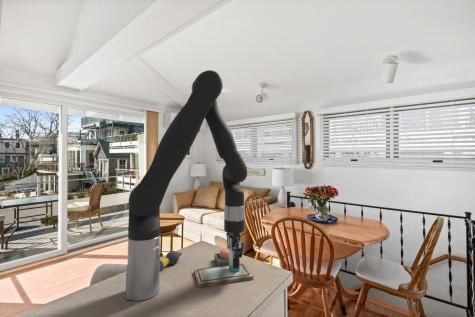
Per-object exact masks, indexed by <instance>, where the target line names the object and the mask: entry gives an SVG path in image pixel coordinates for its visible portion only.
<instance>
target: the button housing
mask: <svg viewBox="0 0 475 317" xmlns="http://www.w3.org/2000/svg"><path fill="white" fill-rule="evenodd" d="M213 259H214V262H215V263H216V265H217V266H216V267H219V266H227V265H229V260H222V259H220V252H217V253H214V258H213Z"/></svg>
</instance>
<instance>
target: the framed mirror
mask: <svg viewBox="0 0 475 317" xmlns="http://www.w3.org/2000/svg"><path fill="white" fill-rule="evenodd" d="M193 273H194V277H195V281H196V283H197V284H196V285H197V288H199V289H200V288H207V287H213V286H219V285H224V284H233V283H238V282H246V281H252V280H254V279H255V278H254V277H255V276H254V275H253V274H252V273H251V272H250V270H249V269H248V267H247V266H246V265H245V264H244V263H240V270H239V271H237V272H232V271H230V270H229V265H227V266H219V267H218V266H214V267H213V266H211V267H204V268H197V269H194V270H193Z"/></svg>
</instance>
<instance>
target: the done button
mask: <svg viewBox="0 0 475 317" xmlns="http://www.w3.org/2000/svg"><path fill="white" fill-rule="evenodd" d="M228 250H229V249H228V248H222V249H220V250H219V253H220V259H222V260H229V251H228Z"/></svg>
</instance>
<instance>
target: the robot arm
mask: <svg viewBox="0 0 475 317" xmlns="http://www.w3.org/2000/svg"><path fill="white" fill-rule="evenodd" d="M223 86H224V85H223V79H222V76H221V75H220V74H219V73H218V71H215V70H210V69H209V70H205V71H202V72H201V73H199V74H198V76H196V78H195V79H194V81H193V82H192V85H191V93H190V96H189V97H188V99H187V101H186V103H185V104H184V106H182V108H181V109H180V110H179V111H178V113H177V114H176V116H175V117H174V118H173V120H172V121H171V123H170V124H169V126H168V127H167V129H166V131H165V133H164V134H163V136H162V138H161V140H160V141H159V144H158V146H157V148H156V151H155V153H154V155H153V159H152V162H151V164H150V166H149V168H148V170H147V172H145V174H144V176H143V177H142V179H141V180H140V181H139V183H138V185H136V186H135V187H134V188H132V190H131V191H130V193H129V197H128V224H127V225H128V226H127V264H126V268H125V271H126V273H125V301H135V302H140V301H146V300H149V299H152V298H154V297H156V296H157V295H158V293H159V292H160V276H161V275H160V273H161V271H160V260H161V218H160V214H161V212H160V211H161V205H162V203H163V200H164V197H165V195H166V192H167V190H168V188H169V185H170V183H171V182H172V179H173V177H174V175H175V174H176V173H177V171H178V170H179V168H180V166H181V165H182V163H183V162H184V160H185V158H186V156H187V155H188V153H189V151H190V150H191V147H192V146H193V143H194V142H195V140H196V138H197V136H198V133H199V131H200V130H201V128H202V125H203V122H204V120H205V121H206V123H207V126H208V128H209V131H210V134H211V136H212V140H213V143H214V145H215V148H216V151H217V155H218V156H219V158H221V159H222V160H223V161H224V163H225V165H224V167H223V168H222V174H221V176H222V178H221V179H222V183H223V190H224V195H225V196H224V209H223V210H224V211H223V230H224V232H225V233H226V234H225V235H226V246H227V247H226V249H229V247H231V251H233V268H234V269H236V268H239V258H240V259H242V258H243V253H244V252H243V251H244V245H245V244H244V242H243V241H242V237H241V233H244V232H245V230H246V220H245V219H246V217H245V216H246V211H245V210H246V209H245V191H244V190H243V189H242V188H241V185H240V184H241V183H242V182H244V181H245V180H246V179H247V176H248V168H247V164H246V163H245V160H244V159H243V157H242V155H241V153H240V152H239V150H238V147H237V144H236V142H235V139H234V135H233V132H232V131H231V128H230V126H229V125H228V123H227V122H226V120H225V118H224V117H223V115H222V112H221V111H220V108H219V105H218V100H217V99H218V98H219V96H220V95H221V93H222V91H223ZM233 247H235V248H233ZM228 251H229V250H228ZM237 253H238V254H237Z"/></svg>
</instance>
